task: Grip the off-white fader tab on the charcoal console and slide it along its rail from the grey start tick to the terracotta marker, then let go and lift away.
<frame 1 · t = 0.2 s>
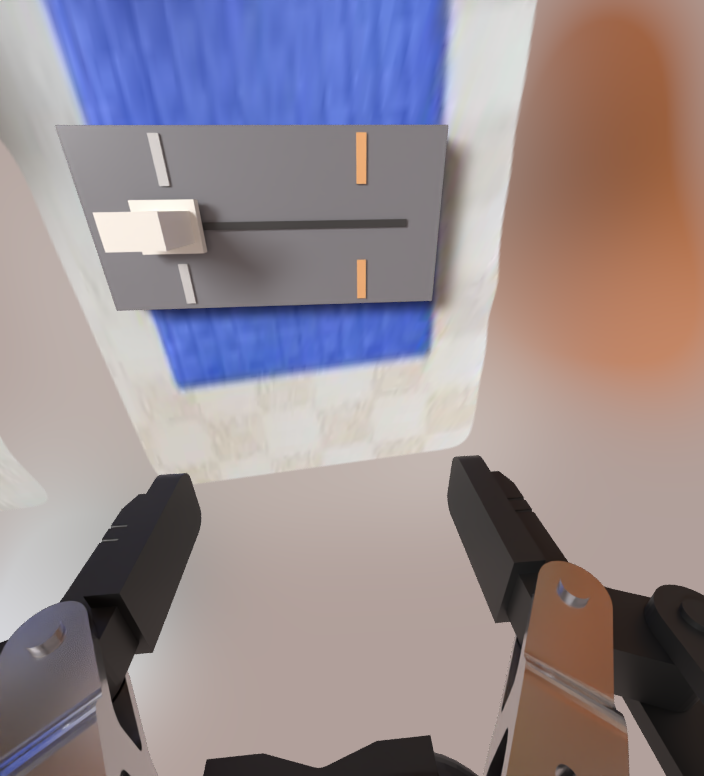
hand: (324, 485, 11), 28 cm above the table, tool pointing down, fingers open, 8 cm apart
fader tab: (153, 229, 26), point 7 cm above the table, slide at -8.0 cm
fader console: (273, 223, 33), on the table
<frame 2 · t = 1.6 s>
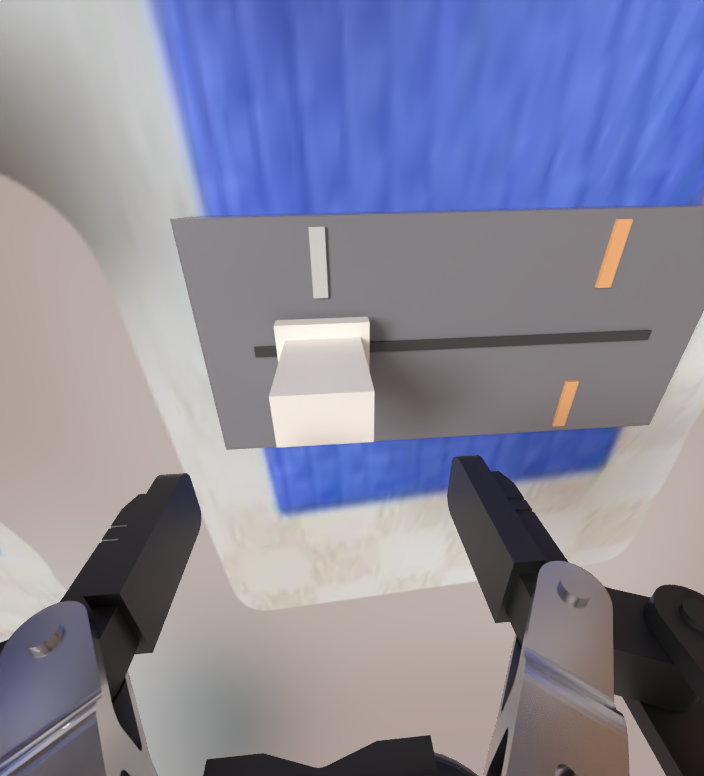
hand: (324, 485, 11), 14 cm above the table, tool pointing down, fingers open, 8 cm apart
fader tab: (324, 380, 17), point 7 cm above the table, slide at -8.0 cm
fader console: (442, 326, 23), on the table
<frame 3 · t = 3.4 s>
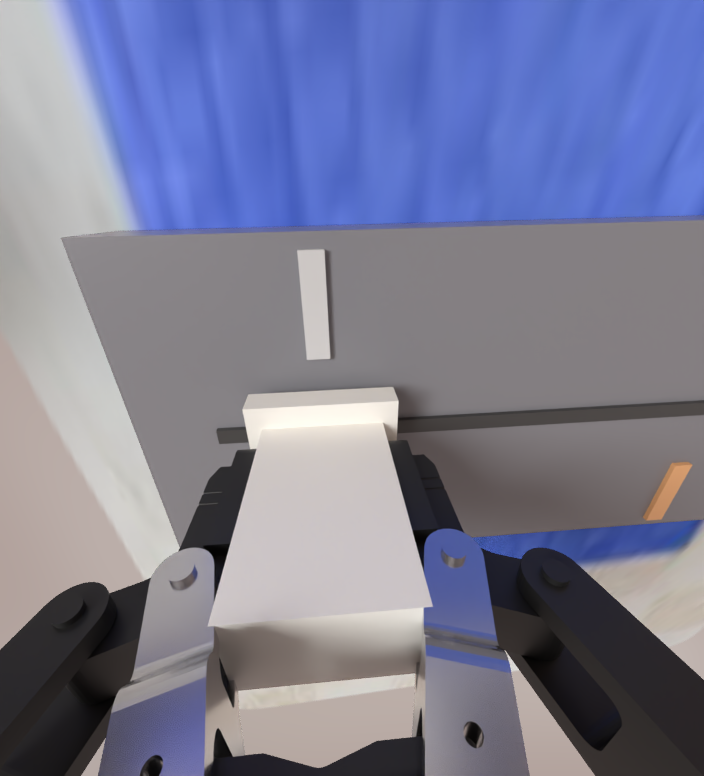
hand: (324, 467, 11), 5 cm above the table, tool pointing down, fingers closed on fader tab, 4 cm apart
fader tab: (325, 510, 10), point 7 cm above the table, slide at -8.0 cm, touching gripper
fader console: (491, 382, 16), on the table
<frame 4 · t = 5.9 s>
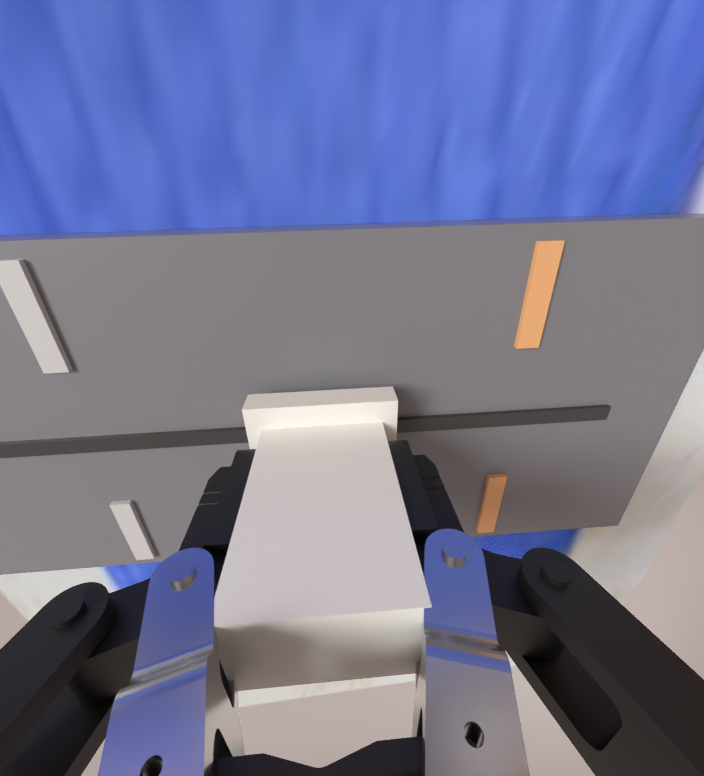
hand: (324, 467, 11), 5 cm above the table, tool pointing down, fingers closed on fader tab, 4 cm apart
fader tab: (324, 510, 10), point 7 cm above the table, slide at 0.7 cm, touching gripper
fader console: (310, 392, 16), on the table
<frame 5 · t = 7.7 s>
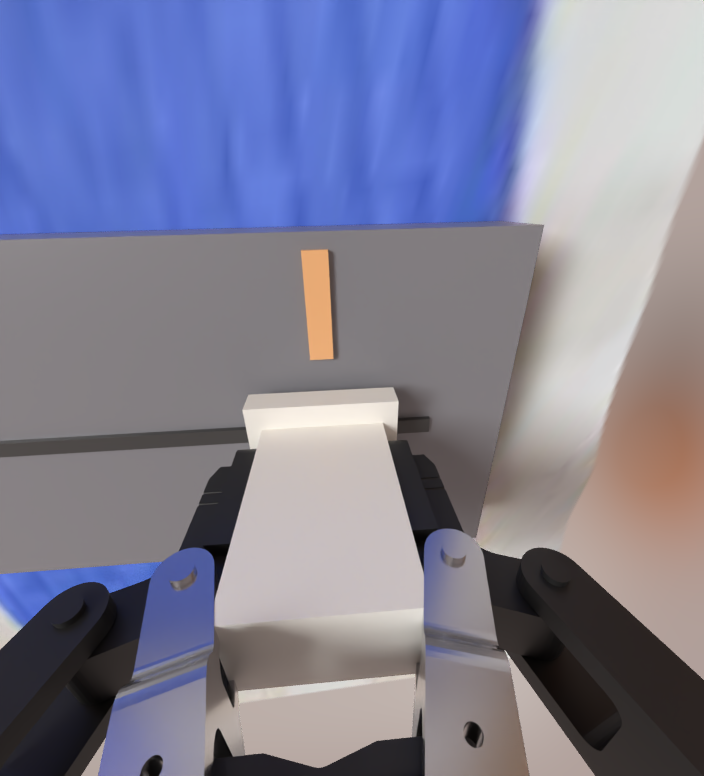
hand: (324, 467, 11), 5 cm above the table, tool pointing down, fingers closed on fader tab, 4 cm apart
fader tab: (325, 511, 10), point 7 cm above the table, slide at 7.9 cm, touching gripper
fader console: (149, 401, 16), on the table
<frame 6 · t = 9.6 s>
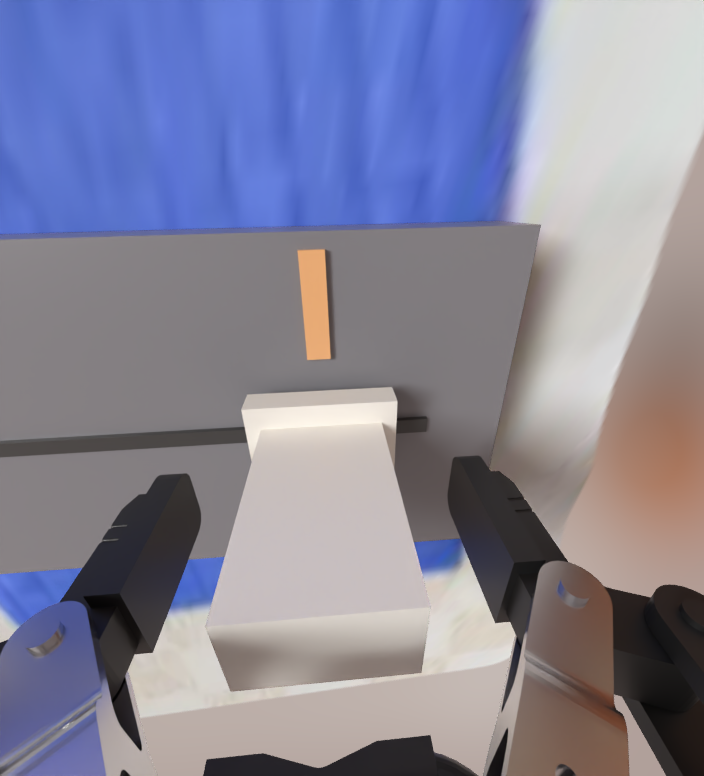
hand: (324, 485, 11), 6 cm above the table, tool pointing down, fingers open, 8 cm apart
fader tab: (323, 511, 10), point 7 cm above the table, slide at 8.0 cm
fader console: (147, 401, 16), on the table
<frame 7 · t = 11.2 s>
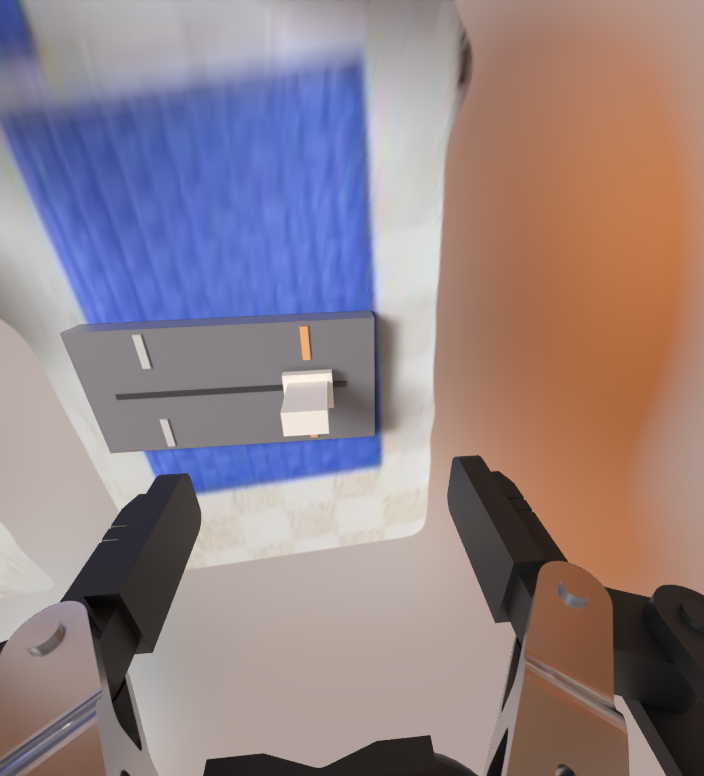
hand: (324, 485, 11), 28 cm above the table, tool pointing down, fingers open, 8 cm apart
fader tab: (307, 404, 33), point 7 cm above the table, slide at 8.0 cm
fader console: (239, 378, 39), on the table
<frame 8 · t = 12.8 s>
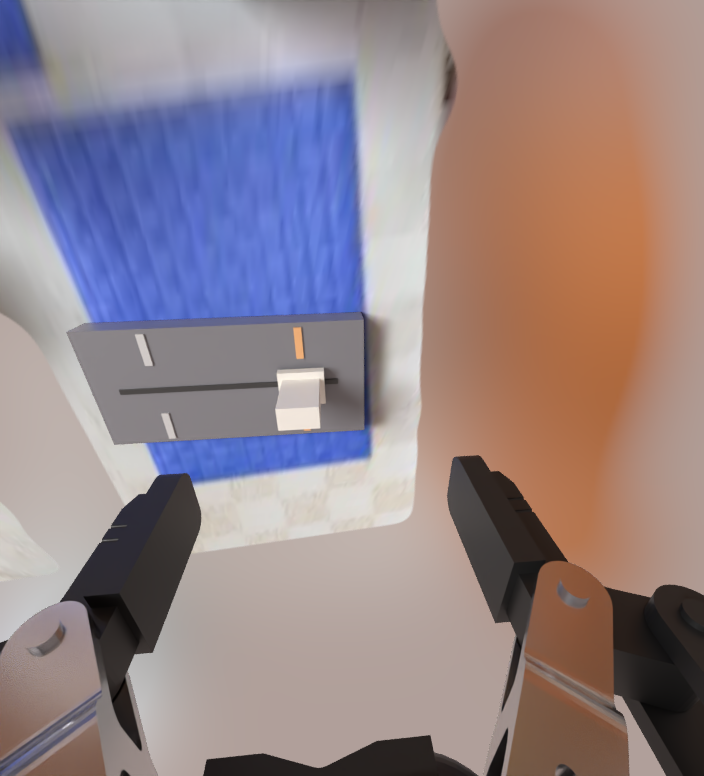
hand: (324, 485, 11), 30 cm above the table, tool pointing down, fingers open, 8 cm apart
fader tab: (300, 400, 35), point 7 cm above the table, slide at 8.0 cm
fader console: (237, 374, 41), on the table
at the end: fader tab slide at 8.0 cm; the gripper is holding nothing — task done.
